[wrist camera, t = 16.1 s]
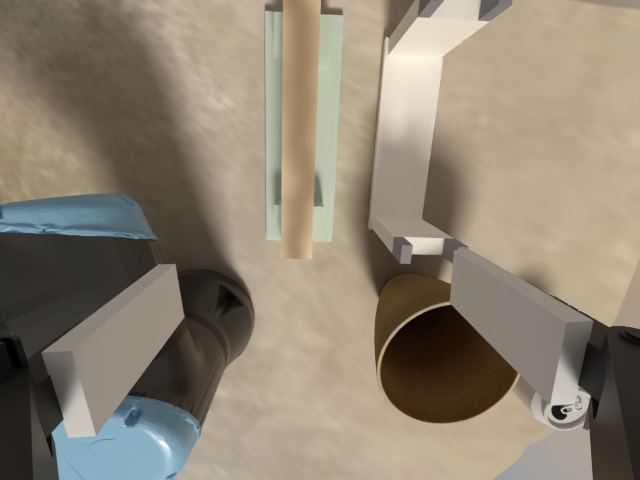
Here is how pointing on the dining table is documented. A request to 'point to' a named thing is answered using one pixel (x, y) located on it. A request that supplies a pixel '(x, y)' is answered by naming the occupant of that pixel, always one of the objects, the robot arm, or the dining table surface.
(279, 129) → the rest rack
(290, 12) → the rail
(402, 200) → the stand
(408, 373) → the plant pot
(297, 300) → the dining table surface
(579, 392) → the can
